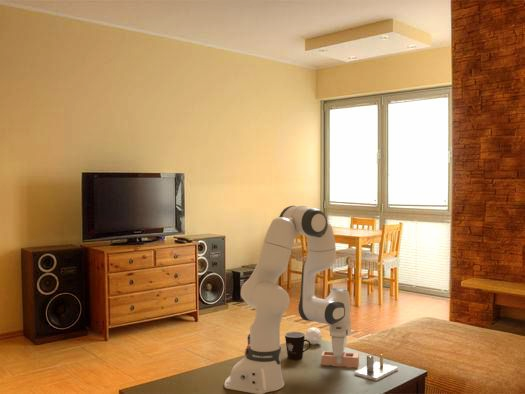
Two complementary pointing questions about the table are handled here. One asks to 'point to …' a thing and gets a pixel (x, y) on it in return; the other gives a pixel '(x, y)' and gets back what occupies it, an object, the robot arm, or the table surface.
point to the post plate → (375, 369)
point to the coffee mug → (295, 345)
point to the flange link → (347, 359)
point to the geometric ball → (313, 335)
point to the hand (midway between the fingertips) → (340, 360)
